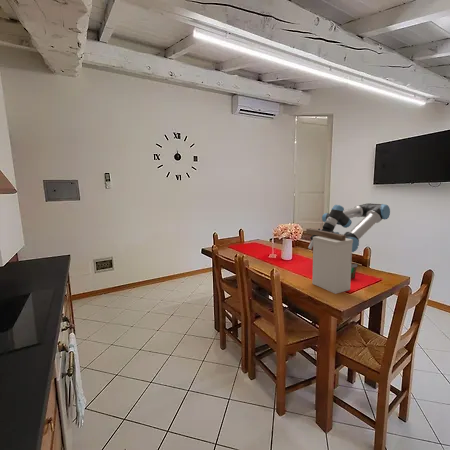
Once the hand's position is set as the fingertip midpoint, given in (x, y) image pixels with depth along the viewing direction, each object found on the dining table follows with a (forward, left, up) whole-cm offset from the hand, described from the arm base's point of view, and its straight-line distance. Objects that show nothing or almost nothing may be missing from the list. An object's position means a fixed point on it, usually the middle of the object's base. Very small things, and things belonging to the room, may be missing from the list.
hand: (316, 250), depth 188 cm
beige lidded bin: (+13, +26, -15) cm, 33 cm away
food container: (-8, +19, -15) cm, 25 cm away
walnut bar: (+13, +20, +15) cm, 28 cm away
